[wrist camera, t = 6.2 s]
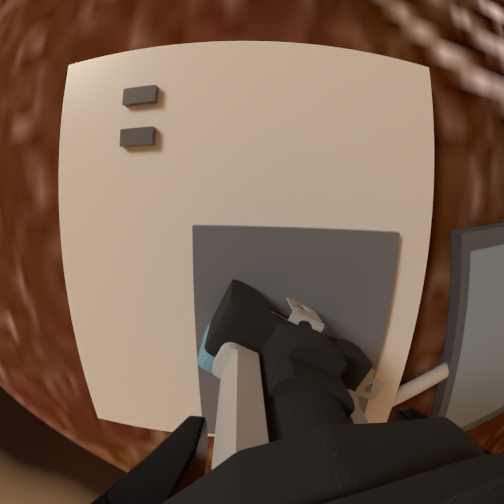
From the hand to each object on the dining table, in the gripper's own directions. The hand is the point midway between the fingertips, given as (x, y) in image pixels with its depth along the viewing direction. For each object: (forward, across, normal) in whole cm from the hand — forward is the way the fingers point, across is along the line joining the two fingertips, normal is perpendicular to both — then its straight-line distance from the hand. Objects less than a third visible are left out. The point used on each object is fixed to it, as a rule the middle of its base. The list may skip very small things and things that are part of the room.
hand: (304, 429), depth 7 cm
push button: (+4, 0, 0) cm, 4 cm away
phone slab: (+5, -11, +1) cm, 12 cm away
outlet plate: (+5, +2, -3) cm, 6 cm away
